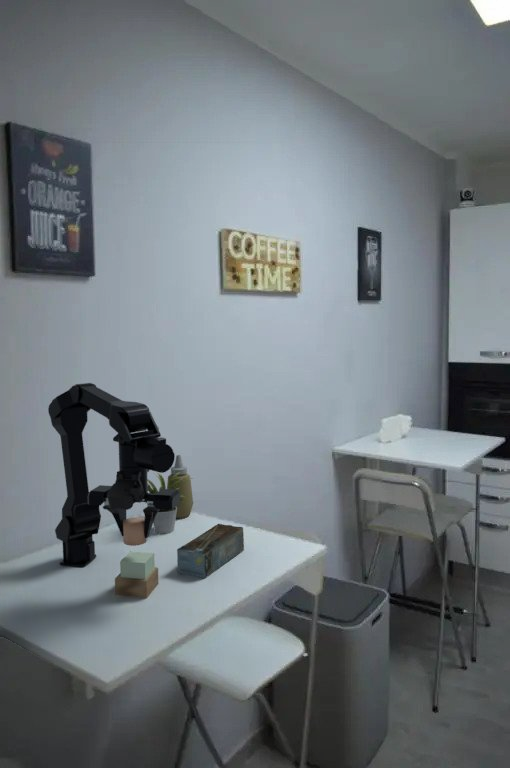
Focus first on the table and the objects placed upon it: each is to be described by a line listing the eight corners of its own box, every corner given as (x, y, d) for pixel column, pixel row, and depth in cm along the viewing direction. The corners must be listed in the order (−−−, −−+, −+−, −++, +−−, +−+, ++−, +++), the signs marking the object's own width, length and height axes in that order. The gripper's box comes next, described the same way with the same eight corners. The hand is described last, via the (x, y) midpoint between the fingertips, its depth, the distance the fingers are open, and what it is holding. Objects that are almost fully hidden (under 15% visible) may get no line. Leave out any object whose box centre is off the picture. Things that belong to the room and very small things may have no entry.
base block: (115, 596, 130) (114, 578, 129) (128, 582, 136) (127, 565, 136) (147, 599, 128) (146, 581, 128) (158, 585, 135) (158, 567, 135)
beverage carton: (175, 573, 141) (175, 545, 140) (218, 545, 158) (217, 520, 157) (205, 580, 137) (204, 551, 137) (245, 551, 154) (245, 525, 154)
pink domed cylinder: (119, 544, 129) (119, 523, 128) (129, 536, 134) (128, 516, 133) (141, 546, 128) (140, 525, 127) (150, 538, 133) (149, 517, 132)
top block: (120, 577, 130) (120, 561, 129) (130, 566, 135) (130, 551, 135) (145, 579, 129) (144, 563, 128) (154, 568, 134) (154, 553, 134)
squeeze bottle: (160, 515, 181) (158, 455, 179) (182, 509, 187) (181, 451, 185) (177, 522, 176) (175, 460, 174) (199, 515, 181) (198, 455, 179)
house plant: (196, 520, 177) (195, 464, 175) (194, 537, 163) (193, 477, 161) (145, 521, 176) (144, 465, 174) (139, 539, 162) (138, 478, 160)
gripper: (73, 471, 123) (76, 547, 125) (161, 476, 119) (163, 554, 121) (98, 459, 134) (100, 528, 136) (180, 463, 130) (181, 534, 132)
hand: (135, 536), depth 131 cm, fingers closed on pink domed cylinder, 5 cm apart
